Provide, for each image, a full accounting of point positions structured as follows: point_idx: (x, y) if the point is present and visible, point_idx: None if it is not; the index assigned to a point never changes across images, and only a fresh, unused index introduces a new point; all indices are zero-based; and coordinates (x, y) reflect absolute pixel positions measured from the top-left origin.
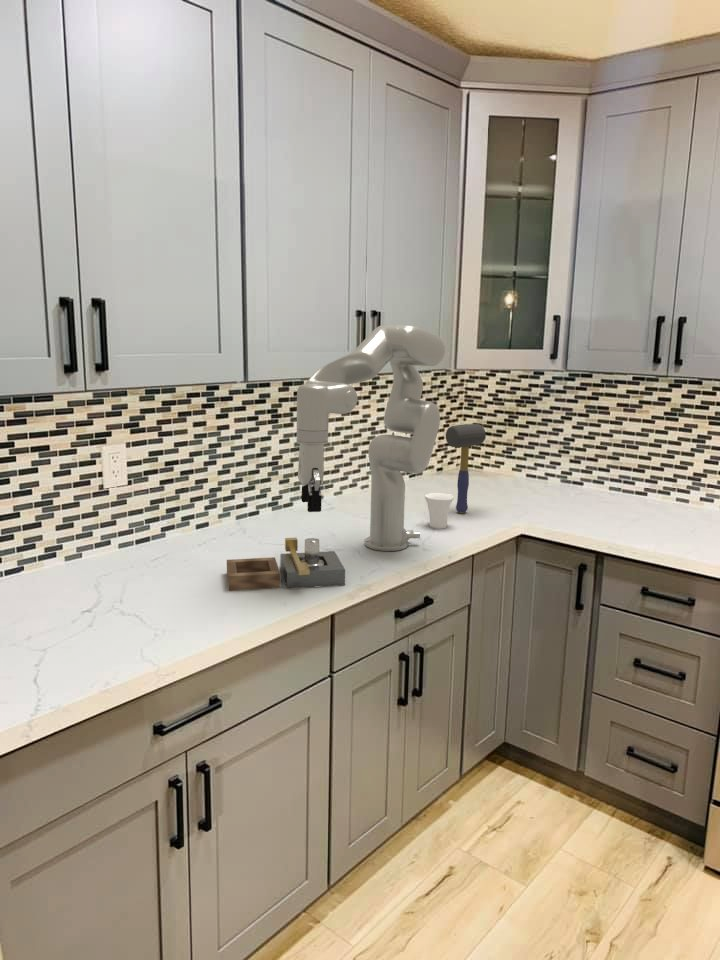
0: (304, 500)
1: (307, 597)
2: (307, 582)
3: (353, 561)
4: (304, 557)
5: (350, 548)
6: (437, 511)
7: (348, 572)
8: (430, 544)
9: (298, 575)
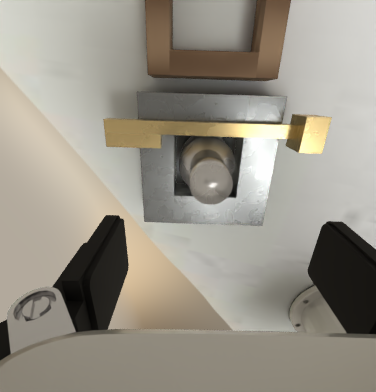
0: (323, 235)
1: (94, 127)
2: None
3: (265, 245)
4: (241, 155)
5: None
6: None
7: (211, 225)
8: None
9: None
